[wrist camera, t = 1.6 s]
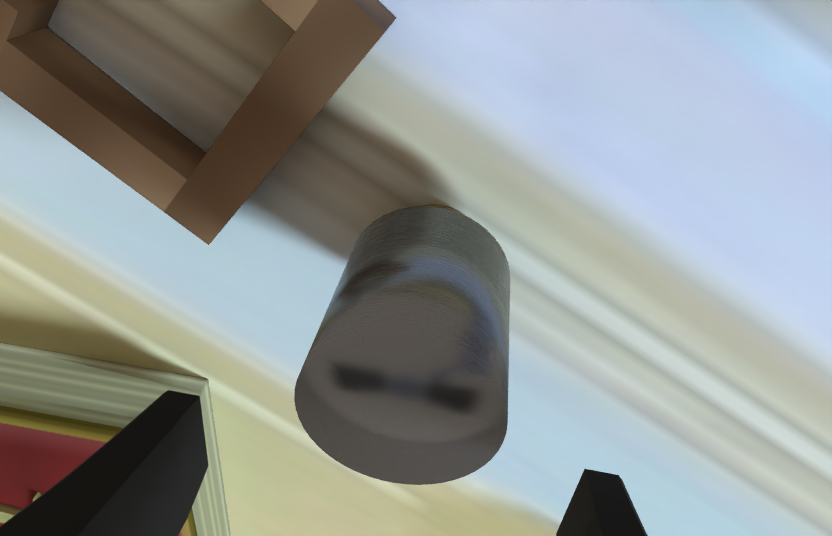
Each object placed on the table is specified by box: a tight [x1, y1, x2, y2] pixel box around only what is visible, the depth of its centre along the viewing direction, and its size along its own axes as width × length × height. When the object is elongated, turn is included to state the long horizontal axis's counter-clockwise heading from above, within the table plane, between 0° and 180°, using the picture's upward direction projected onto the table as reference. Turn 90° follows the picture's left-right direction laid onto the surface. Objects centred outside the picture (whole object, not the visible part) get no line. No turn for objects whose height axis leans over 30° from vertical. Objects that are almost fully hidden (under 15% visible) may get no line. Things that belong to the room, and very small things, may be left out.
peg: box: [295, 205, 510, 485], centre depth 15 cm, size 4×4×7 cm
